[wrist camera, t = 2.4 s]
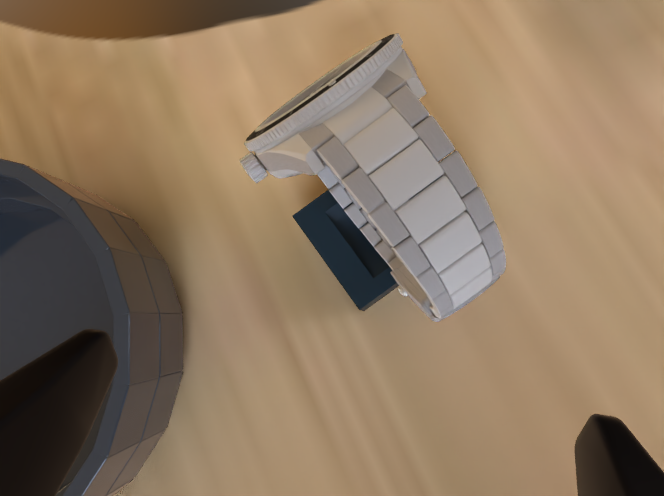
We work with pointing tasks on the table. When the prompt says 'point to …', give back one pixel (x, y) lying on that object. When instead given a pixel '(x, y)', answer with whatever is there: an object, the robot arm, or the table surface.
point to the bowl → (90, 313)
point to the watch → (383, 185)
